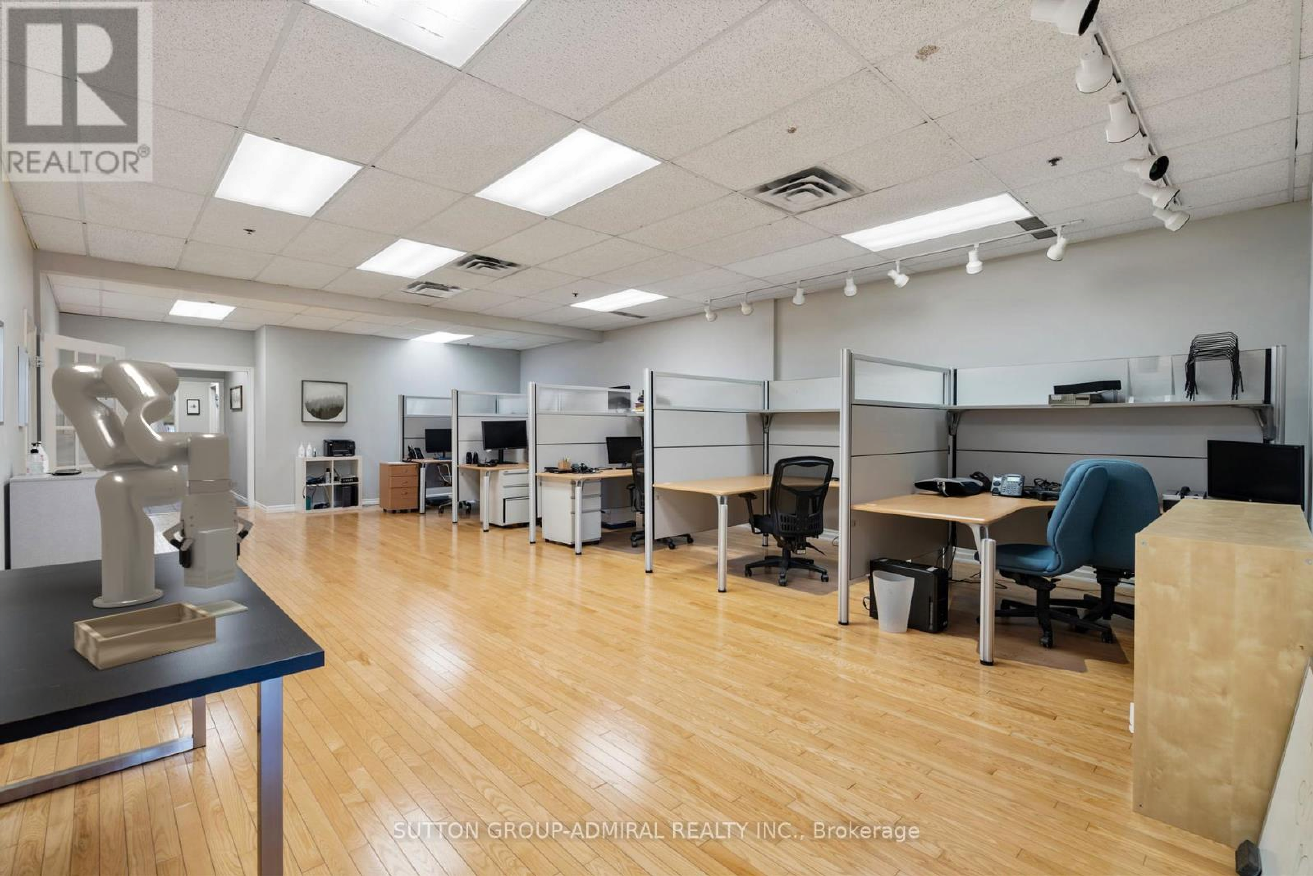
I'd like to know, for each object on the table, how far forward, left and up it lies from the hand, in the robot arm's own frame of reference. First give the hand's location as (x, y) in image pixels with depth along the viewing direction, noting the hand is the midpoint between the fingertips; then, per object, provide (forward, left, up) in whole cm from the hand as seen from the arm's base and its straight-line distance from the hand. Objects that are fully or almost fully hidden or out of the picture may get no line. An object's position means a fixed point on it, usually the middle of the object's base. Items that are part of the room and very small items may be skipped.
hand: (210, 563), depth 134 cm
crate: (+14, -15, -11) cm, 23 cm away
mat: (0, 0, -11) cm, 11 cm away
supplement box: (0, 0, -5) cm, 5 cm away
